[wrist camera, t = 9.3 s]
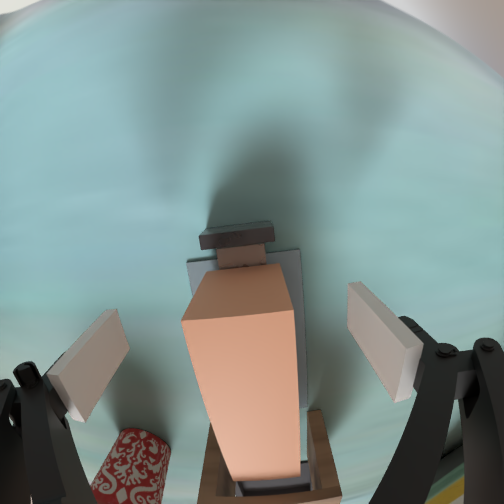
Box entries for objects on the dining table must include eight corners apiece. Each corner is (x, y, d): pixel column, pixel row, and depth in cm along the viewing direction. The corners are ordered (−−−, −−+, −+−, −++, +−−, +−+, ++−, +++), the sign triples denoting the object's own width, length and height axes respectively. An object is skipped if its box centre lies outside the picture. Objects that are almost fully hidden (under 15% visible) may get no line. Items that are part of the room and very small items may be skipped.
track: (291, 461, 29) (293, 478, 26) (253, 465, 29) (253, 482, 26) (270, 220, 21) (273, 226, 18) (206, 228, 22) (198, 235, 19)
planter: (473, 405, 28) (547, 513, 1) (511, 418, 31) (561, 485, 4) (364, 497, 33) (390, 600, 7) (431, 492, 36) (460, 562, 10)
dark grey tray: (315, 485, 31) (316, 494, 29) (238, 492, 31) (238, 500, 29) (317, 459, 29) (319, 469, 27) (228, 467, 29) (227, 477, 27)
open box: (318, 452, 28) (332, 523, 17) (225, 460, 29) (219, 532, 17) (320, 409, 26) (342, 495, 15) (210, 419, 27) (196, 505, 15)
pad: (307, 405, 26) (307, 407, 26) (222, 413, 26) (222, 414, 26) (299, 249, 22) (299, 249, 22) (186, 262, 22) (186, 263, 22)
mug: (111, 413, 27) (70, 492, 14) (180, 436, 28) (158, 527, 14) (117, 458, 30) (91, 522, 17) (172, 477, 30) (156, 545, 17)
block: (291, 413, 25) (300, 476, 17) (237, 418, 25) (233, 481, 17) (279, 263, 21) (293, 309, 13) (206, 271, 21) (180, 320, 13)
